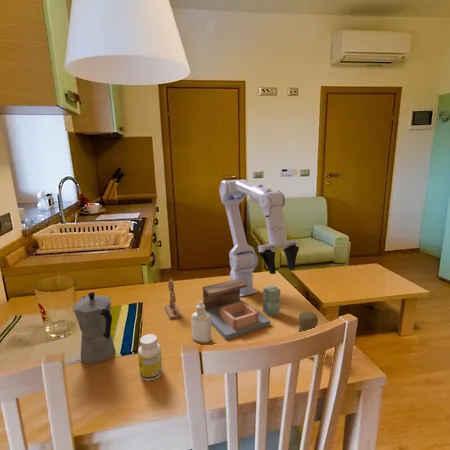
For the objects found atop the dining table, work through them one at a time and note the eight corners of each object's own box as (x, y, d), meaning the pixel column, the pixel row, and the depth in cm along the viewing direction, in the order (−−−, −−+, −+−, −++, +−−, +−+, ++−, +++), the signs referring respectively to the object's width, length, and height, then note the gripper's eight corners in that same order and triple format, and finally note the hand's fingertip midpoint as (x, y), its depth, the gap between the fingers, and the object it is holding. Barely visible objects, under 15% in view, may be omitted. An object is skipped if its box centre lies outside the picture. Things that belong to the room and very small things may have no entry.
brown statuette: (181, 317, 102) (180, 284, 100) (169, 320, 101) (168, 286, 98) (175, 305, 110) (173, 274, 108) (164, 307, 109) (162, 276, 106)
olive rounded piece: (318, 358, 82) (321, 320, 79) (295, 355, 83) (297, 318, 80) (316, 344, 87) (319, 309, 85) (294, 342, 89) (296, 307, 86)
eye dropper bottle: (200, 346, 87) (199, 307, 84) (190, 337, 91) (188, 300, 89) (213, 340, 90) (212, 303, 87) (202, 332, 94) (201, 296, 91)
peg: (262, 311, 106) (263, 287, 104) (272, 309, 108) (272, 285, 106) (269, 317, 102) (270, 292, 100) (279, 314, 104) (280, 289, 102)
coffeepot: (70, 351, 85) (61, 291, 81) (102, 336, 92) (96, 280, 88) (97, 377, 75) (89, 310, 71) (131, 358, 82) (126, 296, 78)
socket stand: (200, 312, 105) (199, 300, 104) (239, 301, 113) (240, 290, 112) (226, 340, 90) (225, 326, 89) (270, 325, 97) (270, 312, 96)
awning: (203, 308, 105) (202, 287, 103) (238, 299, 112) (238, 278, 110) (210, 316, 100) (210, 293, 98) (246, 305, 107) (246, 284, 105)
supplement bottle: (142, 366, 79) (139, 332, 77) (163, 365, 79) (161, 331, 77) (138, 382, 74) (135, 345, 71) (161, 380, 74) (158, 344, 72)
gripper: (264, 230, 91) (271, 276, 90) (302, 225, 98) (308, 267, 97) (251, 232, 97) (258, 275, 96) (287, 227, 104) (293, 267, 103)
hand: (282, 271), depth 97 cm, fingers open, 7 cm apart
